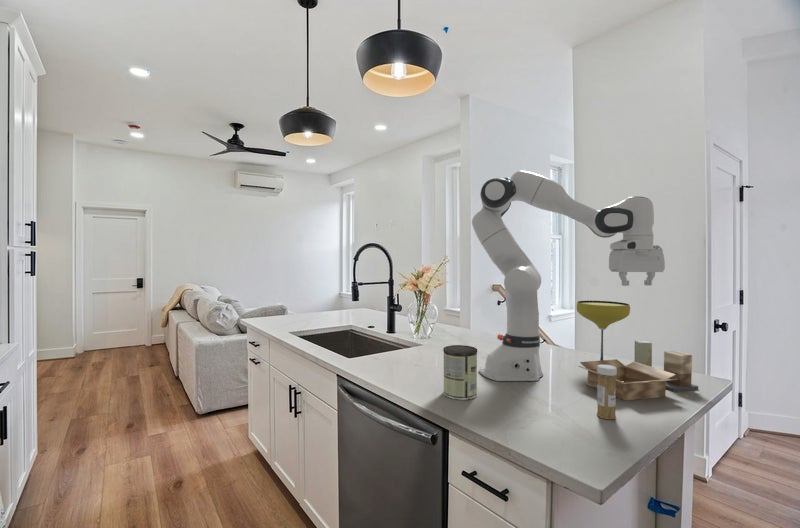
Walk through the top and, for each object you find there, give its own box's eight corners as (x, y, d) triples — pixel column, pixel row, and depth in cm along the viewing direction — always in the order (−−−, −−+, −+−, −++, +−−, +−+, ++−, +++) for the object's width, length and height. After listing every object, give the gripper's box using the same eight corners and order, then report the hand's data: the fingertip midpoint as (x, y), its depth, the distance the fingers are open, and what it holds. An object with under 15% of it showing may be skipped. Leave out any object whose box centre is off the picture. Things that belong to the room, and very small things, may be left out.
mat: (673, 391, 125) (673, 388, 125) (646, 381, 134) (646, 379, 134) (698, 389, 127) (698, 386, 127) (669, 379, 137) (669, 376, 137)
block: (680, 386, 126) (680, 355, 126) (663, 380, 132) (664, 351, 132) (691, 385, 128) (692, 354, 127) (674, 380, 133) (674, 350, 133)
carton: (624, 406, 112) (625, 383, 112) (570, 381, 134) (570, 362, 134) (687, 399, 118) (687, 377, 118) (625, 376, 140) (625, 358, 140)
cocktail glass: (616, 378, 137) (617, 307, 137) (566, 367, 151) (567, 302, 151) (637, 369, 148) (638, 303, 148) (589, 360, 163) (590, 299, 162)
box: (652, 373, 144) (652, 343, 144) (639, 372, 145) (639, 342, 145) (646, 369, 150) (646, 340, 149) (633, 368, 151) (634, 339, 150)
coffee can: (446, 387, 127) (447, 343, 127) (479, 391, 124) (479, 346, 124) (439, 397, 118) (439, 350, 117) (474, 402, 114) (474, 353, 114)
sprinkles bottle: (617, 421, 102) (618, 369, 102) (598, 418, 103) (598, 367, 103) (613, 414, 106) (614, 364, 106) (595, 412, 108) (595, 363, 107)
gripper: (654, 245, 139) (653, 284, 139) (605, 244, 134) (605, 285, 134) (670, 245, 133) (669, 286, 133) (620, 243, 128) (619, 286, 128)
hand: (636, 285), depth 134 cm, fingers open, 8 cm apart
